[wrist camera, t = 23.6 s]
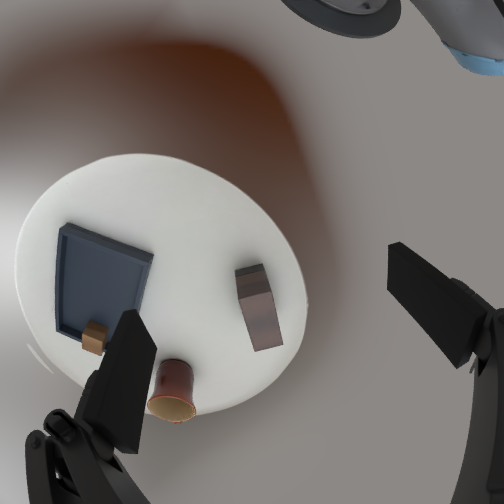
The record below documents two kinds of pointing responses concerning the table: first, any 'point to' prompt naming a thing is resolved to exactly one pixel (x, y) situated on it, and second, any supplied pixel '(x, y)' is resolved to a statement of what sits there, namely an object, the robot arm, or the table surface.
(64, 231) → the tray
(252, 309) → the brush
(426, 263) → the robot arm
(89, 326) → the wooden cube
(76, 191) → the table surface
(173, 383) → the mug
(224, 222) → the table surface
